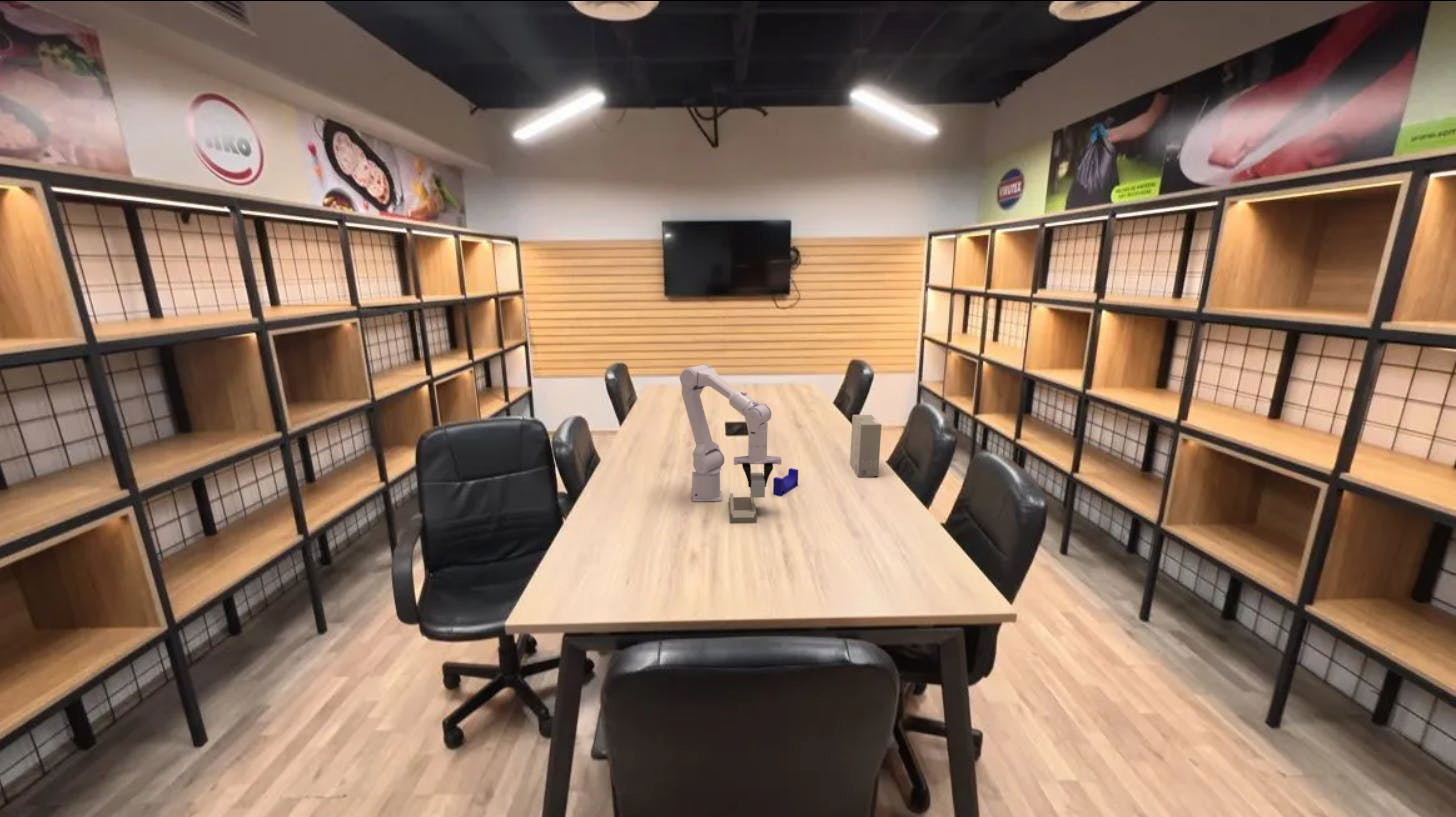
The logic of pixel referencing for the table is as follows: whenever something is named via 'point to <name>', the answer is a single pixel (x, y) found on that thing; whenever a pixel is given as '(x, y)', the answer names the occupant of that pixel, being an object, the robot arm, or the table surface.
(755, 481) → the grey block
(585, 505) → the table surface
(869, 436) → the hard drive box
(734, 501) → the grey rectangular tray
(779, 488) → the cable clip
